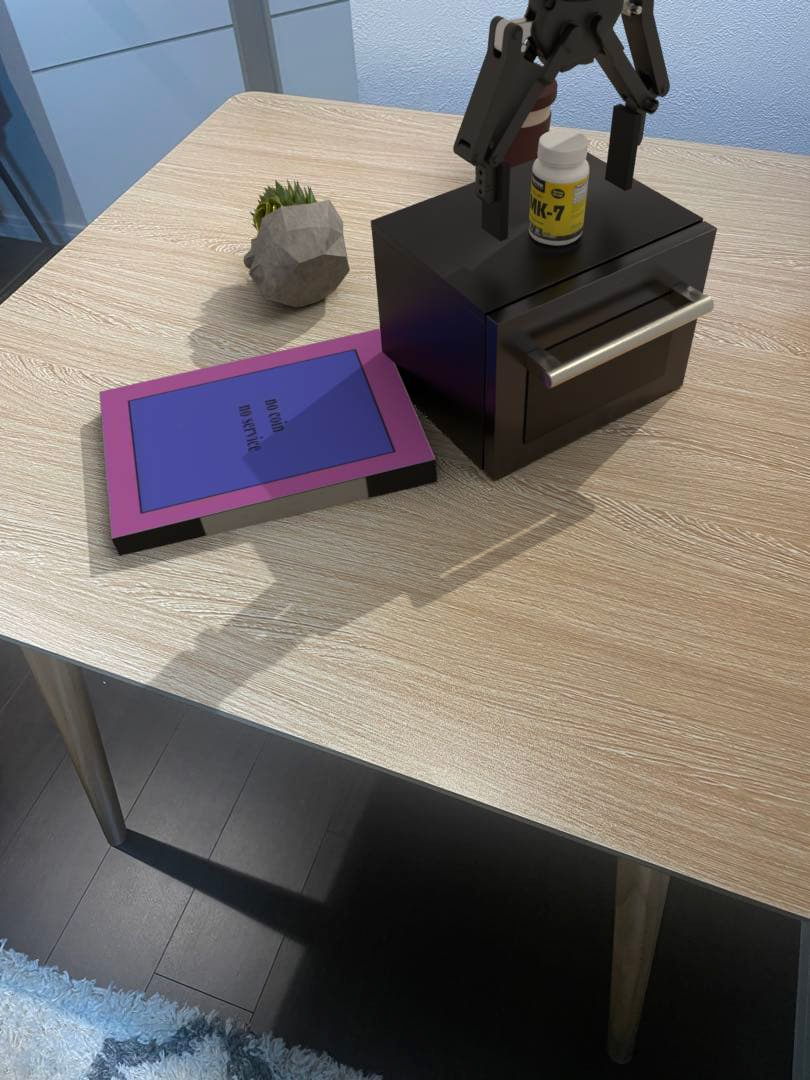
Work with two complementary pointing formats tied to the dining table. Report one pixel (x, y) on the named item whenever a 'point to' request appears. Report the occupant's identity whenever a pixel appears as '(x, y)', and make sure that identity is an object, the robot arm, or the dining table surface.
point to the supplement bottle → (559, 188)
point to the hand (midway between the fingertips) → (557, 208)
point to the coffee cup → (532, 128)
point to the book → (258, 441)
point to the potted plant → (296, 247)
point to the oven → (488, 282)
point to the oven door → (592, 348)
